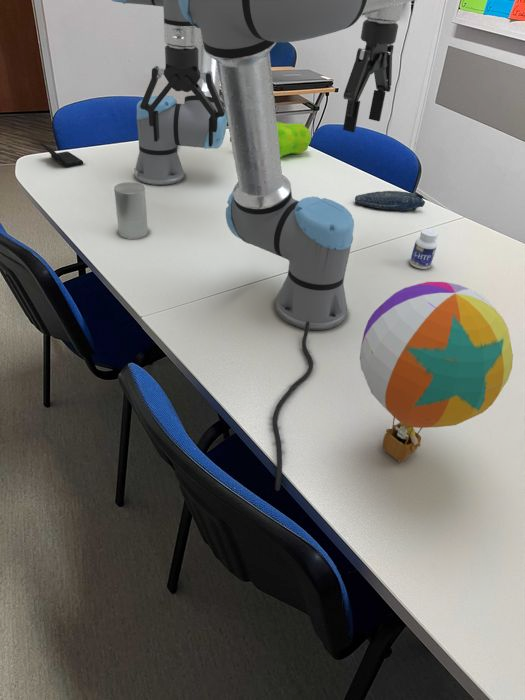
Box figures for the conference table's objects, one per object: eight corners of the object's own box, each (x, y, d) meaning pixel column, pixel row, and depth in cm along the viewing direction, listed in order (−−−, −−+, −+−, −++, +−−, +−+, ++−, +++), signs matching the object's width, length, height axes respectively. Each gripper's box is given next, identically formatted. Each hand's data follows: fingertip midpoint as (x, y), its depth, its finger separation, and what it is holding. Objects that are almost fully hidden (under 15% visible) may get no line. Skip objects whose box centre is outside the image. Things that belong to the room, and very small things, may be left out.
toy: (311, 442, 83) (343, 281, 64) (387, 392, 94) (434, 241, 75) (410, 529, 72) (484, 365, 53) (484, 461, 83) (567, 304, 64)
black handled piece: (88, 157, 170) (65, 134, 161) (76, 174, 168) (53, 153, 160) (67, 152, 176) (45, 131, 168) (56, 170, 175) (33, 149, 166)
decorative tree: (227, 117, 189) (306, 117, 195) (226, 146, 196) (303, 145, 201) (234, 131, 176) (319, 131, 181) (233, 162, 182) (315, 161, 187)
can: (153, 231, 136) (150, 186, 129) (135, 241, 131) (131, 196, 124) (131, 223, 139) (127, 179, 131) (112, 233, 134) (107, 188, 126)
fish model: (423, 215, 157) (428, 199, 154) (354, 208, 158) (357, 191, 155) (420, 206, 162) (425, 191, 159) (353, 199, 163) (356, 184, 160)
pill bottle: (408, 266, 131) (417, 234, 126) (410, 257, 135) (419, 225, 130) (429, 271, 130) (439, 239, 125) (431, 262, 134) (441, 230, 129)
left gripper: (122, 43, 114) (130, 142, 127) (235, 54, 114) (231, 151, 127) (130, 37, 119) (137, 132, 133) (238, 47, 120) (234, 142, 133)
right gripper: (389, 15, 120) (370, 112, 134) (338, 21, 104) (322, 131, 117) (419, 20, 117) (397, 119, 130) (372, 27, 101) (352, 139, 114)
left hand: (183, 142), depth 130 cm, fingers open, 13 cm apart
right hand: (362, 125), depth 124 cm, fingers open, 13 cm apart
